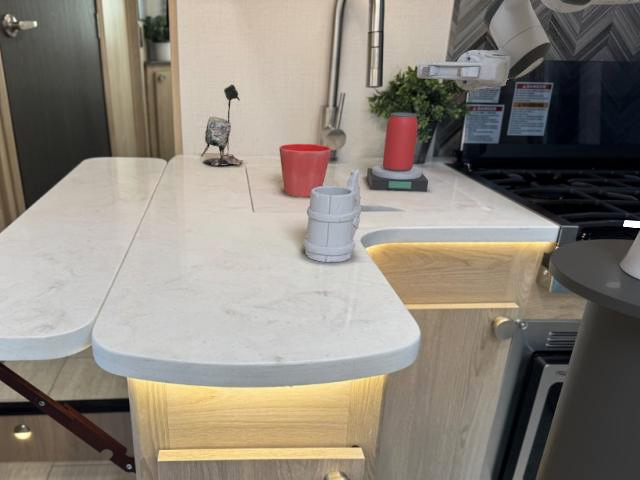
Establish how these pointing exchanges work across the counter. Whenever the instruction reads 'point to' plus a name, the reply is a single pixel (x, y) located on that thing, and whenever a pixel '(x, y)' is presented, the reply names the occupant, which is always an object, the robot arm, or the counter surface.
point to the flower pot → (303, 167)
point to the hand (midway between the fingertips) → (440, 71)
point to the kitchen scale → (396, 179)
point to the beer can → (400, 141)
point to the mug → (333, 221)
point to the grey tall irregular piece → (221, 132)
